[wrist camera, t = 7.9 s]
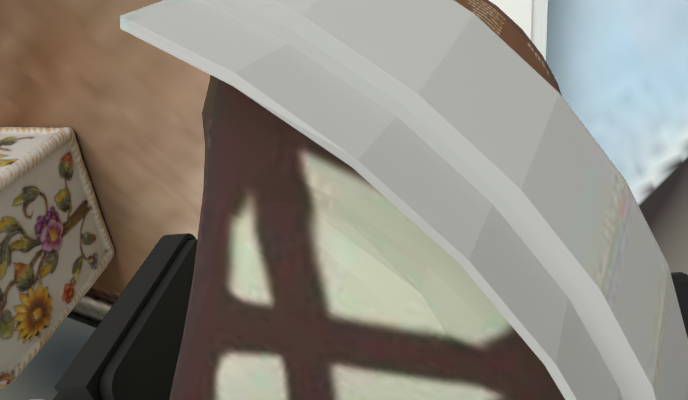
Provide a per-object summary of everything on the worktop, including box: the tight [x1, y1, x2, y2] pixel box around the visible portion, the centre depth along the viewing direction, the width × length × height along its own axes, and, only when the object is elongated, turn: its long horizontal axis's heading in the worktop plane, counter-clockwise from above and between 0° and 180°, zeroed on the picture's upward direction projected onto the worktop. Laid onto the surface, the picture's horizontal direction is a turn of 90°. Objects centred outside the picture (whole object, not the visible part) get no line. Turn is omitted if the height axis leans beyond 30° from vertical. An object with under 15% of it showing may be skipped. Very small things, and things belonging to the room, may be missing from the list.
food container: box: [120, 0, 688, 400], centre depth 10 cm, size 12×6×10 cm, turn 166°
